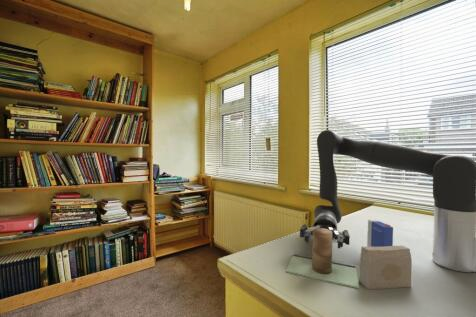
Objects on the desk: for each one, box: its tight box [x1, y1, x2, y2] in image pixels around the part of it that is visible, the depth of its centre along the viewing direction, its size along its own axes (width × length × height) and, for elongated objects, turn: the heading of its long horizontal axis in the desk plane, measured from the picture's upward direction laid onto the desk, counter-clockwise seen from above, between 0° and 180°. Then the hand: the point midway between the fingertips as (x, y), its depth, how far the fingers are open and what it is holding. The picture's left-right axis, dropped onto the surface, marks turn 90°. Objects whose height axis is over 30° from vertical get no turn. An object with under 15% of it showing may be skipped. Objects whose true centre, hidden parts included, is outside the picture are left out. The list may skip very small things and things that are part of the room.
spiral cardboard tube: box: [311, 228, 333, 274], centre depth 64 cm, size 5×5×11 cm
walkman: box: [366, 219, 394, 247], centre depth 71 cm, size 8×3×12 cm, turn 3°
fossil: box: [358, 245, 413, 290], centre depth 57 cm, size 12×4×10 cm, turn 97°
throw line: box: [293, 252, 357, 269], centre depth 70 cm, size 18×2×1 cm, turn 66°
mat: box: [286, 255, 360, 290], centre depth 64 cm, size 18×10×1 cm, turn 66°
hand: (322, 242), depth 64 cm, fingers open, 8 cm apart
